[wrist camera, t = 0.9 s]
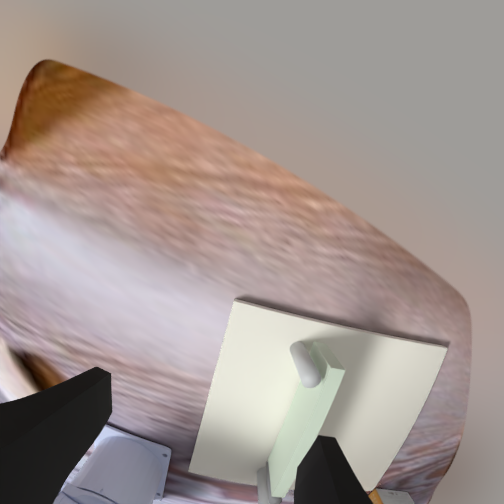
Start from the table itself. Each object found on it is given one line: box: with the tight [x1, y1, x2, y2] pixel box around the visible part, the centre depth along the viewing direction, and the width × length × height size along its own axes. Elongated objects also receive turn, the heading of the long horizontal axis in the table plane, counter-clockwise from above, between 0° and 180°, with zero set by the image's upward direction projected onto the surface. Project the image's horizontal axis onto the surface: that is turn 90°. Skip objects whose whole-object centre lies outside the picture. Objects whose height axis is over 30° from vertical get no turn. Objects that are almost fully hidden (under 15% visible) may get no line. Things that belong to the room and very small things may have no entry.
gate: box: [266, 342, 346, 504], centre depth 19 cm, size 13×1×5 cm, turn 165°
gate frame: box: [188, 299, 448, 504], centre depth 20 cm, size 18×20×6 cm
